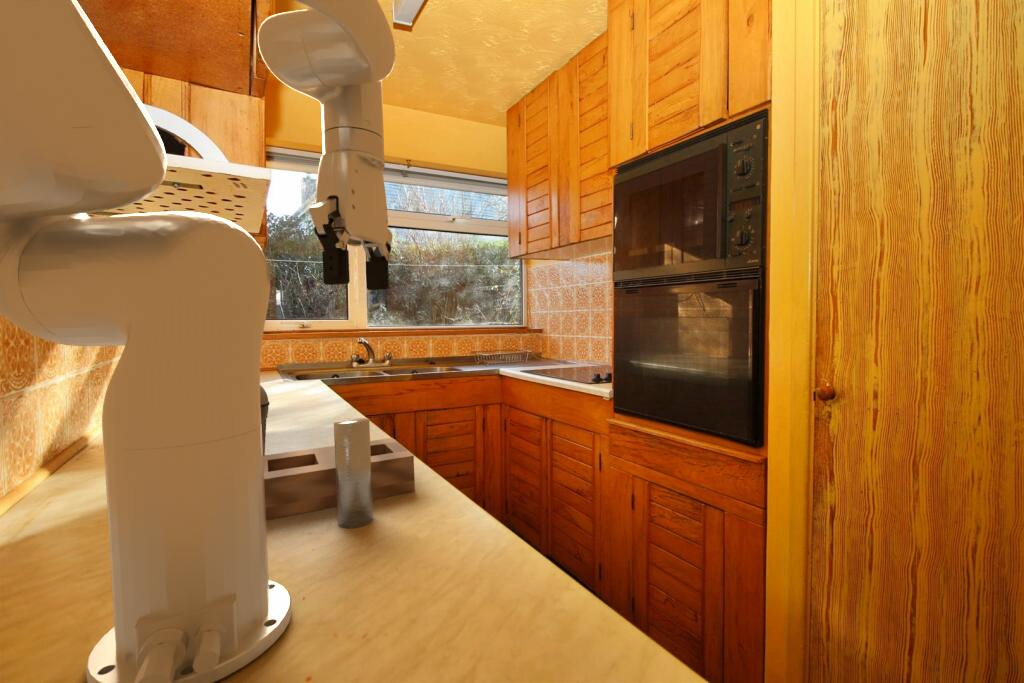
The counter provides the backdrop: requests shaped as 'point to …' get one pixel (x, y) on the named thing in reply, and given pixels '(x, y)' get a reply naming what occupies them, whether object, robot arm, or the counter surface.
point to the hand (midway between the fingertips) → (358, 287)
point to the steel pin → (353, 472)
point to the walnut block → (330, 477)
